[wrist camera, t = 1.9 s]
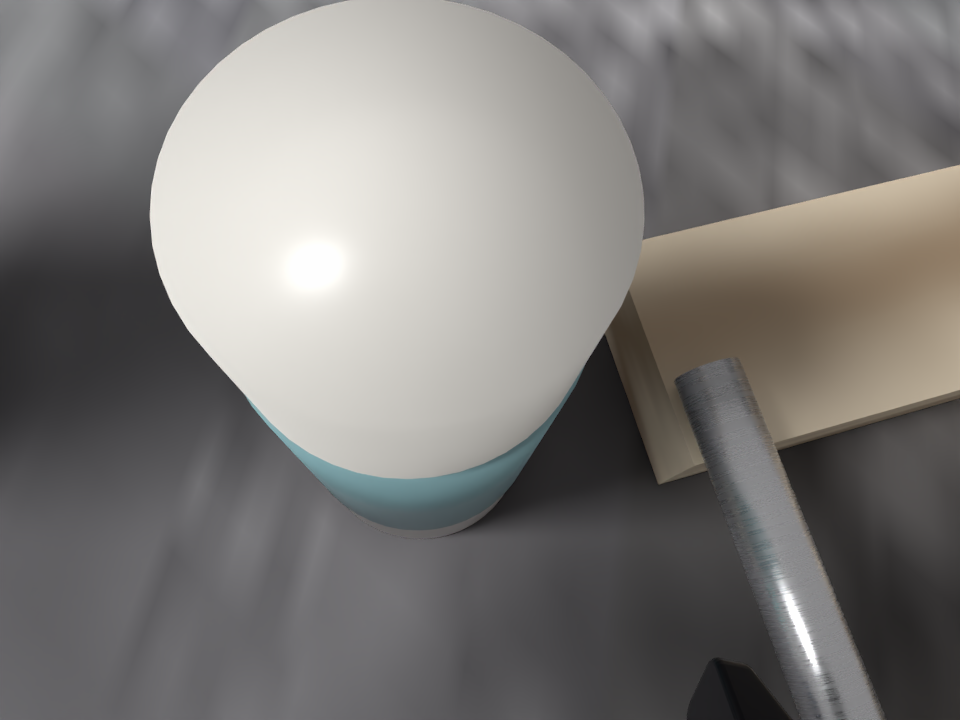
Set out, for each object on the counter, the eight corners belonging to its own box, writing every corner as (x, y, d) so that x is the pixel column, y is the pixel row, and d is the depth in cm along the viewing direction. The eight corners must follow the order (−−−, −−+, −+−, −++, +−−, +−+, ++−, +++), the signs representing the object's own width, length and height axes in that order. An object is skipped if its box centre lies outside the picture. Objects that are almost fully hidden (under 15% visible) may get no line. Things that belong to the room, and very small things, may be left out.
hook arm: (987, 1030, 15) (1051, 1079, 13) (914, 1060, 14) (972, 1114, 13) (724, 372, 19) (750, 351, 17) (665, 388, 18) (686, 368, 17)
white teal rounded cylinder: (547, 509, 20) (722, 359, 8) (345, 566, 19) (189, 501, 7) (490, 323, 22) (562, -42, 9) (301, 370, 21) (113, 38, 9)
